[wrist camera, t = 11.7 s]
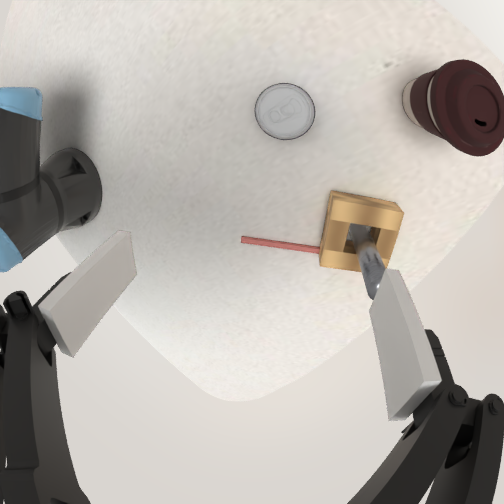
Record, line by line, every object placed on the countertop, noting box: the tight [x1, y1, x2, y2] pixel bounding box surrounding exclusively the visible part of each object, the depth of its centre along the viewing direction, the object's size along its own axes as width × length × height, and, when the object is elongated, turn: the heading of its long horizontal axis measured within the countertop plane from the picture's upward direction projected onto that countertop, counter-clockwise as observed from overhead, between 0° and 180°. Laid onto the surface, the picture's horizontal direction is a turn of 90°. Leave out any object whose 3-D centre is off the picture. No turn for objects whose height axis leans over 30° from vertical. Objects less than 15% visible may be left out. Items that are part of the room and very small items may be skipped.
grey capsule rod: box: [349, 223, 385, 300], centre depth 33 cm, size 3×3×15 cm
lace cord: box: [241, 236, 320, 254], centre depth 42 cm, size 12×1×1 cm, turn 86°
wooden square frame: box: [319, 191, 404, 272], centre depth 38 cm, size 10×10×4 cm
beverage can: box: [255, 83, 315, 140], centre depth 28 cm, size 6×6×12 cm
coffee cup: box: [402, 60, 504, 156], centre depth 22 cm, size 10×10×15 cm
